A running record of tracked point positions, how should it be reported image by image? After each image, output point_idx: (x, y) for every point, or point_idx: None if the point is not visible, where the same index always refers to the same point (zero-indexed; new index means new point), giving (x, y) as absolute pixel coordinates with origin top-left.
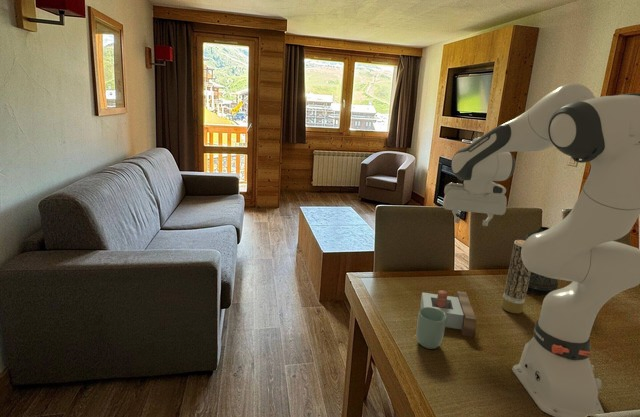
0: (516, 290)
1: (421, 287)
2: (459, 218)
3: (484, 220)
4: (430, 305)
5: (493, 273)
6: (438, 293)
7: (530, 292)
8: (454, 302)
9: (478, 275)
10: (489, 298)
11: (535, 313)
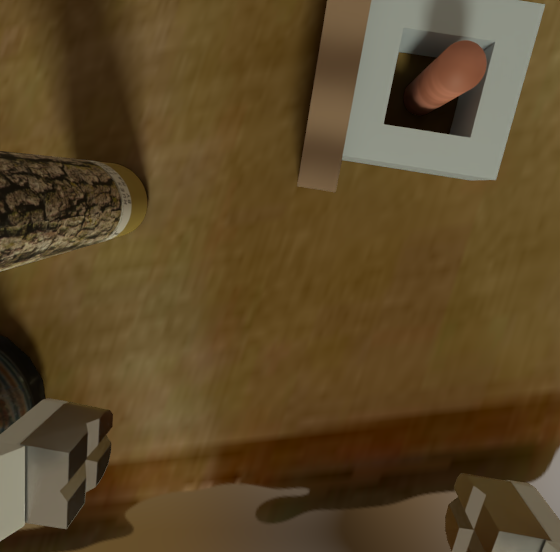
0: (71, 161)
1: (417, 328)
2: (505, 532)
3: (51, 492)
4: (500, 51)
5: None
6: (484, 62)
7: (2, 337)
8: (374, 101)
9: (154, 452)
10: (171, 274)
11: None
